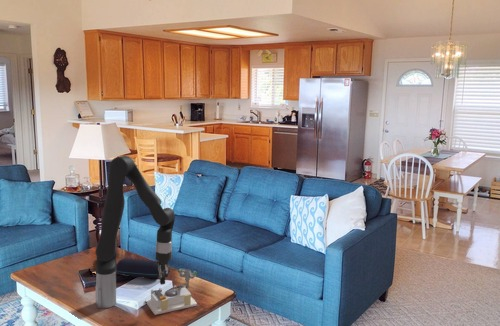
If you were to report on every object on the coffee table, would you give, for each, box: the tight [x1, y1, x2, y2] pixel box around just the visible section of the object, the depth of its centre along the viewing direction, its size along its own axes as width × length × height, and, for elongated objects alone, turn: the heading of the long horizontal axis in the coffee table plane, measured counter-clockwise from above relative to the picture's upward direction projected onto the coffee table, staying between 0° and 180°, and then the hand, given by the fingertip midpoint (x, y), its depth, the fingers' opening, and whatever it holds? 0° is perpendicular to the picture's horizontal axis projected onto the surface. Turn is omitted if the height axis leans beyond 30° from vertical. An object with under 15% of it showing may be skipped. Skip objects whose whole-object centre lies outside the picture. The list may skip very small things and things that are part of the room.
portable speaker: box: [116, 257, 160, 280], centre depth 255 cm, size 25×10×10 cm, turn 85°
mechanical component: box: [177, 268, 198, 289], centre depth 244 cm, size 3×10×10 cm, turn 79°
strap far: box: [176, 281, 188, 289], centre depth 229 cm, size 2×12×2 cm, turn 30°
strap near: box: [154, 289, 166, 300], centre depth 222 cm, size 2×12×2 cm, turn 30°
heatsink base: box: [146, 283, 198, 316], centre depth 226 cm, size 22×15×6 cm
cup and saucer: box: [88, 259, 97, 270], centre depth 259 cm, size 12×12×6 cm
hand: (162, 283), depth 217 cm, fingers closed
